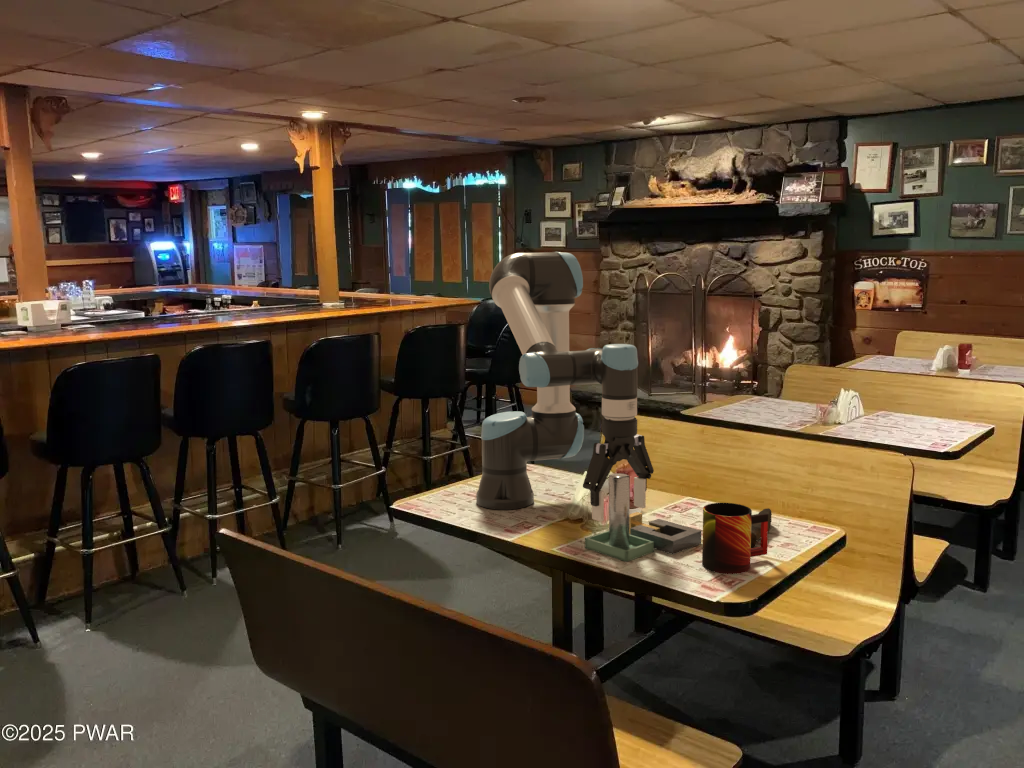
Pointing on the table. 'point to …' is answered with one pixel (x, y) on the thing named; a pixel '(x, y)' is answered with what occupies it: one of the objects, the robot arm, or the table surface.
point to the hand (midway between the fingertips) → (619, 513)
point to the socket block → (668, 536)
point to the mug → (730, 537)
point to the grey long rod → (619, 510)
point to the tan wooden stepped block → (639, 521)
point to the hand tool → (759, 528)
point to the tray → (635, 550)
